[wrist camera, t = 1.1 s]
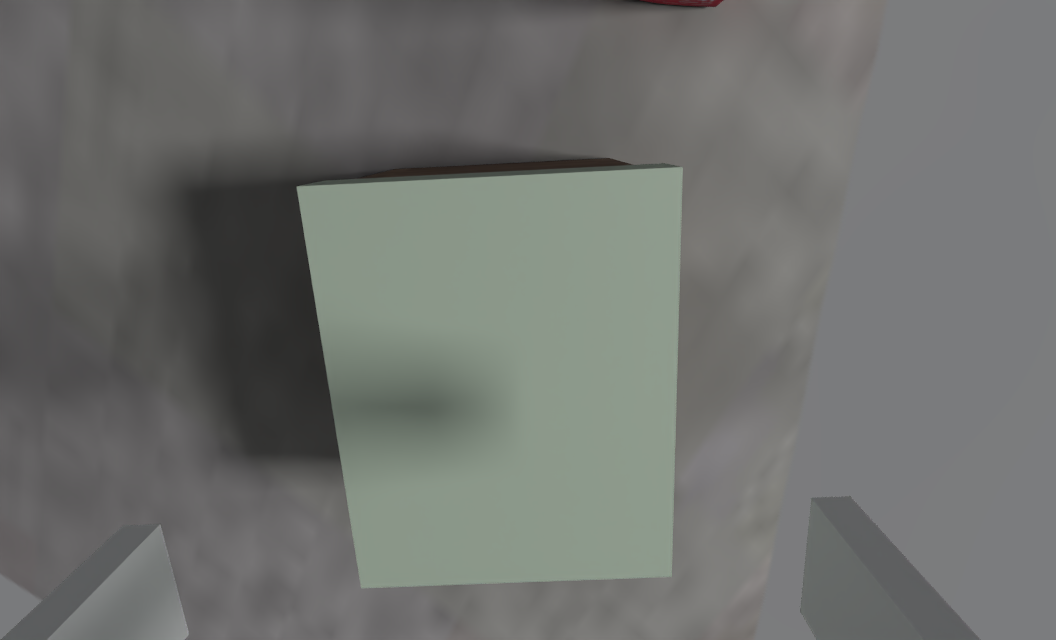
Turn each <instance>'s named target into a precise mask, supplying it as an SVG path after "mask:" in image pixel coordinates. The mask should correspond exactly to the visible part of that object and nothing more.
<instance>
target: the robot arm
mask: <svg viewBox="0 0 1056 640" xmlns="http://www.w3.org/2000/svg"><path fill="white" fill-rule="evenodd" d="M800 612H801V614H802V615H803V617H804V619H805V620H806V622H807V624H808V626H809V627H810V629H811V631H812V633H813V634H814V636H815V637H816V640H980V639H979V638H978V636H977V635H976V634H975V633H974V632H973V631H972V630H971V629H970V628H969V626H968V625H967V624H966V623H965V622H964V621H963V620H962V619H961V618H960V617H959V615H958V614H957V613H956V612H955V611H954V610H953V609H952V608H951V607H950V606H949V605H948V603H946V601H945V600H944V599H943V598H942V597H941V596H940V595H939V593H938V592H937V591H936V590H935V589H934V588H933V587H932V586H931V585H930V584H929V582H928V581H927V580H925V578H924V577H923V576H922V575H921V574H920V573H919V571H917V569H916V568H915V567H914V566H913V565H912V564H911V563H910V562H909V560H907V558H906V557H905V556H904V555H903V554H902V553H901V552H900V551H899V550H898V548H897V547H896V546H895V545H894V544H893V543H892V542H891V541H890V540H889V538H888V537H887V536H886V535H885V534H884V533H883V532H882V531H881V530H880V529H879V528H878V526H877V525H876V524H875V523H874V522H873V521H872V520H871V519H870V518H869V516H868V515H867V514H866V513H865V512H864V511H863V510H862V509H861V508H860V507H859V506H858V504H857V503H856V502H855V501H854V500H853V499H852V498H851V497H850V496H849V497H823V498H811V507H810V517H809V527H808V537H807V548H806V558H805V569H804V578H803V588H802V598H801V608H800ZM188 634H189V632H188V629H187V625H186V621H185V617H184V613H183V609H182V606H181V602H180V598H179V594H178V590H177V586H176V583H175V579H174V575H173V571H172V567H171V563H170V560H169V556H168V552H167V548H166V544H165V541H164V537H163V533H162V529H161V525H160V524H148V525H124V526H122V527H121V528H120V529H119V530H118V531H117V532H116V533H114V534H113V535H112V536H111V537H110V538H109V539H108V540H107V541H106V542H105V543H104V544H103V545H102V546H101V547H99V548H98V549H97V550H96V551H95V552H94V553H93V554H92V555H91V556H90V557H89V558H88V559H87V560H86V561H84V562H83V563H82V564H81V565H80V566H79V567H78V568H77V569H76V570H75V571H74V572H73V573H72V574H71V575H69V576H68V577H67V578H66V579H65V580H64V581H63V582H62V583H61V584H60V585H59V586H58V587H57V588H56V589H54V590H53V591H52V592H51V593H50V594H49V595H48V596H47V597H46V598H45V599H44V600H43V601H42V602H41V603H40V604H38V605H37V606H36V607H35V608H34V609H33V610H32V611H31V612H30V613H29V614H28V615H27V616H26V617H25V618H23V619H22V620H21V621H20V622H19V623H18V624H17V625H16V626H15V627H14V628H13V629H12V630H11V631H10V632H8V633H7V634H6V635H5V636H4V637H3V638H2V639H1V640H185V639H186V637H187V636H188Z"/></svg>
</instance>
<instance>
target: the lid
mask: <svg viewBox="0 0 1056 640" xmlns="http://www.w3.org/2000/svg"><path fill="white" fill-rule="evenodd" d="M682 175H683V167H680V166H675V165H670V164H665V163H661V164H641V165H622V166H602V167H582V168H562V169H542V170H523V171H503V172H483V173H463V174H443V175H423V176H404V177H384V178H364V179H344V180H324V181H320V182H315V183H310V184H306V185H301V186H296V187H297V193H298V199H299V205H300V211H301V218H302V224H303V230H304V236H305V242H306V249H307V255H308V261H309V267H310V273H311V280H312V286H313V292H314V298H315V304H316V311H317V317H318V323H319V329H320V335H321V342H322V348H323V354H324V360H325V366H326V373H327V379H328V385H329V391H330V397H331V404H332V410H333V416H334V422H335V428H336V435H337V441H338V447H339V453H340V459H341V466H342V472H343V478H344V484H345V490H346V497H347V503H348V509H349V515H350V521H351V528H352V534H353V540H354V546H355V552H356V559H357V565H358V571H359V577H360V583H361V588H380V587H407V586H435V585H462V584H489V583H516V582H543V581H570V580H597V579H624V578H651V577H672V544H673V507H674V470H675V433H676V396H677V359H678V323H679V286H680V249H681V212H682Z"/></svg>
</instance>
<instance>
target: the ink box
mask: <svg viewBox="0 0 1056 640" xmlns="http://www.w3.org/2000/svg"><path fill="white" fill-rule="evenodd" d="M641 1H646V2H653V3H660V4H669V5H683V6H706V7H716V6H717V5H719V4H720V3H721V2H722V1H723V0H641Z"/></svg>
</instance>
